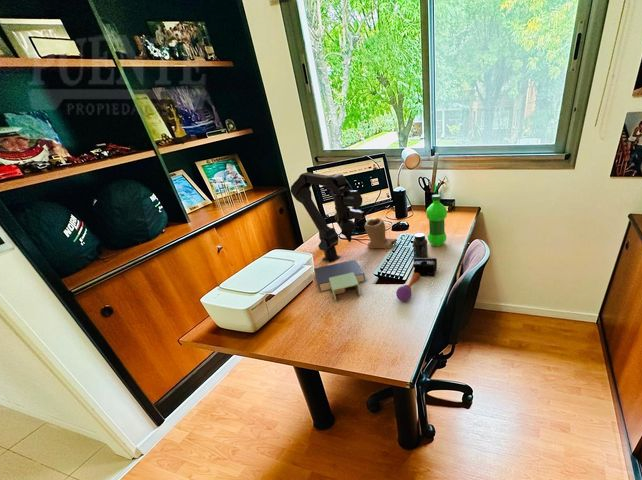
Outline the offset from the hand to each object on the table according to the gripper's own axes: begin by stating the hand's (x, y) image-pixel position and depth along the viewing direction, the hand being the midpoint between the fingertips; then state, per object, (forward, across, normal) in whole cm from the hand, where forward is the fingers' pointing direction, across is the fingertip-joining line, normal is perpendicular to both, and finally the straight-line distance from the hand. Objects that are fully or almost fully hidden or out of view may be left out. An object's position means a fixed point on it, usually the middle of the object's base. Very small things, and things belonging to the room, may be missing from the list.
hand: (347, 238), depth 153 cm
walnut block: (+11, -24, +6) cm, 27 cm away
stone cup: (+13, +12, -18) cm, 26 cm away
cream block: (+11, -24, +11) cm, 29 cm away
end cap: (+13, -26, -28) cm, 41 cm away
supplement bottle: (+13, -12, -32) cm, 36 cm away
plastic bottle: (+13, 0, -46) cm, 48 cm away
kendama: (+13, -38, -16) cm, 43 cm away
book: (+13, -13, +9) cm, 20 cm away
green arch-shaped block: (+10, -21, +9) cm, 25 cm away
